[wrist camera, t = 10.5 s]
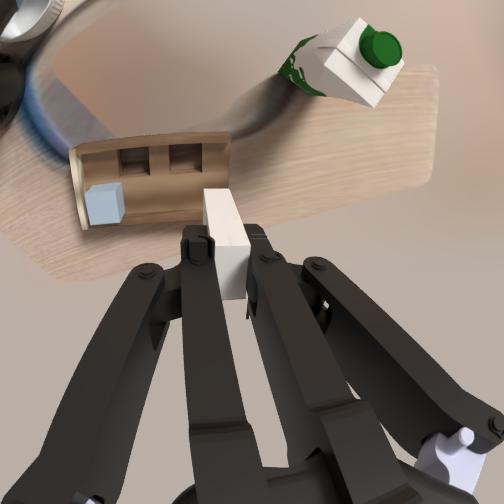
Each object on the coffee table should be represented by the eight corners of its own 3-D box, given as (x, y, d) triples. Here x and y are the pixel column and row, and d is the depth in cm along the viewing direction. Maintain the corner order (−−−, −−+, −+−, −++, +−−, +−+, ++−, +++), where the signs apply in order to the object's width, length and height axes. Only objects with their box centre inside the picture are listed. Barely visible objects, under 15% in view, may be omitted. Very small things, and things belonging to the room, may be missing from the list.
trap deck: (80, 144, 37) (68, 150, 33) (227, 131, 41) (231, 136, 37) (91, 216, 44) (82, 230, 40) (226, 207, 48) (229, 220, 44)
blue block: (92, 185, 39) (84, 194, 35) (121, 182, 40) (115, 190, 36) (97, 214, 41) (90, 225, 38) (125, 211, 42) (120, 222, 39)
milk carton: (340, 64, 38) (422, 63, 21) (312, 104, 41) (385, 119, 25) (299, 33, 34) (367, 6, 18) (268, 74, 38) (323, 64, 21)
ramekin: (82, 8, 24) (66, -2, 19) (22, 60, 26) (0, 59, 20) (59, -33, 17) (43, -45, 11) (2, 17, 18) (-19, 12, 13)
